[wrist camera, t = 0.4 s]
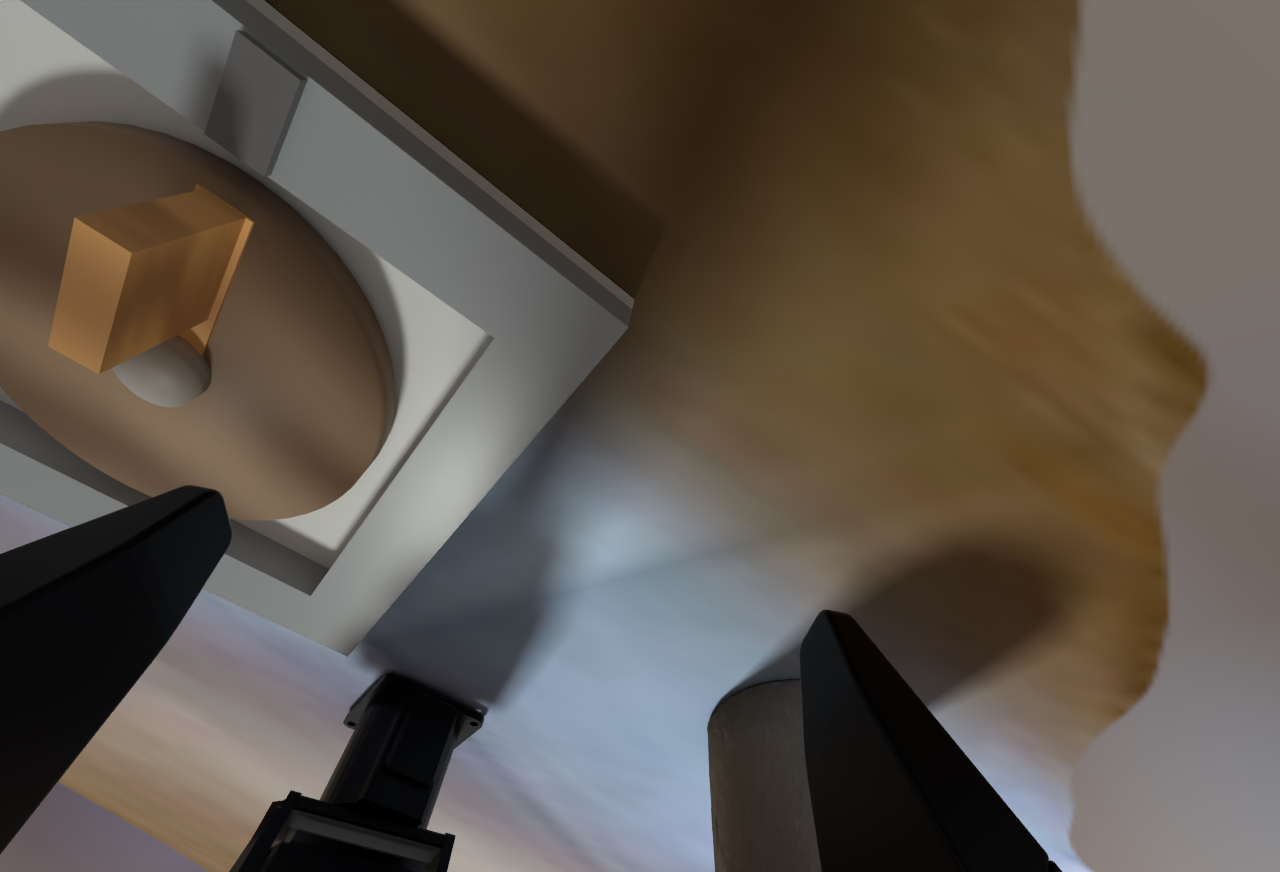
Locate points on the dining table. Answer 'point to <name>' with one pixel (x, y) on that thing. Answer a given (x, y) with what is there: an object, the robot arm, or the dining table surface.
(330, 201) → the dial plate
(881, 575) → the dining table surface
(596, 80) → the dining table surface
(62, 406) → the dial
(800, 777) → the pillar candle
